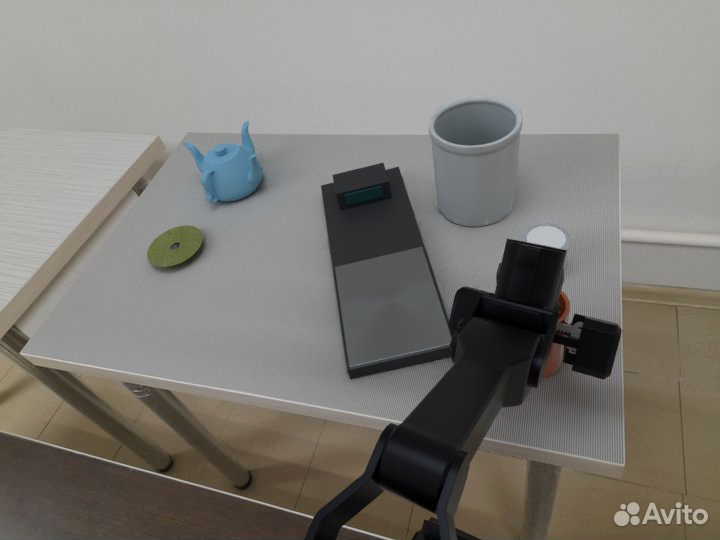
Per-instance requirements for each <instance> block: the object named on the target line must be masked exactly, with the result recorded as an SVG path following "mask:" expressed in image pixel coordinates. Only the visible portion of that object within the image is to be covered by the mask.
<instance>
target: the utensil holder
mask: <svg viewBox="0 0 720 540" xmlns="http://www.w3.org/2000/svg"><path fill="white" fill-rule="evenodd" d="M523 122H524V121H523V113H522V111H521V109H520V108H519V106H518V105H517V104H515V103H514V102H513V101H511V100H509V99H507V98H504V97H500V96H496V95H488V94H474V95H468V96H462V97H459V98H454V99H452V100H449V101H447V102H445V103H444V104H442V105H441V106H439V107H438V108H437V109H435V111H434V112H433V113H432V114H431V116H430V118H429V120H428V133H429V137H430V139H431V142H430V143H431V151H432V162H433V173H434V181H435V182H434V183H435V190H436V196H437V197H436V198H437V203H438V204H437V205H438V208H439V211H440V213H441V214H442V216H443V217H444V218H446V219H447V220H448V221H450V222H452V223H454V224H456V225H459V226H463V227H470V228H471V227H472V228H473V227H474V228H476V227H485V226H490V225H493V224H496V223H498V222H499V221H502V220H503V219H504V218H506V217H507V216H508V215H509V214H510V213H511V211H512V210H513V208H514V205H515V198H516V189H517V188H516V187H517V179H518V165H519V152H520V140H521V131H522V128H523Z"/></svg>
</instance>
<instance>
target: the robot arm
mask: <svg viewBox="0 0 720 540" xmlns="http://www.w3.org/2000/svg"><path fill="white" fill-rule="evenodd" d="M566 253H567V254H568V252H567V250H564V249H559V248H555V247H550V246H545V245H540V244H535V243H530V242H524V241H522V240H519V239H512V238H506V241H505V245H504V250H503V254H502V259H501V262H499V264H498V267H497V271H496V274H495V275H496V277H495V279H496V282H495V283H496V285H495V290H494V292H490V291H486V290H483V289H479V288H475V287H470V286H467V285H465V286H461V287H460V288H458V289H457V290H456V292H455V294H454V297H453V301H452V306H451V311H450V315H449V318H448V319H449V324H448V329H449V331H450V334H451V335H452V336H453V337H452V339H451V342H450V349H451V351H452V357H451V362H452V363H453V365H451V367H450V368H449V369H448V370H447V371H446V373H444V375H442V377H441V378H440V379H439V380H438V381H437V383H436V384H435V385H433V387H432V388H431V389H430V391H429V392H427V394H426V395H425V396H424V397H423V398H422V399H421V401H420V402H419V403H418V404H417V405H416V406H415V407H414V408H413V409H412V411H411V412H410V413H409V414H408V415H407V416H406V417H405V418H404V419H403V421H402V422H401V423H400V424H398V425H397V424H395V423H392V422H390V423H389V424H387V425H386V426H385V428H383V430H382V432H381V433H380V435H379V437H378V439H377V441H376V442H375V445H374V448H373V450H372V453H371V455H370V458H369V460H368V463H367V465H366V467H365V470H364V472H363V473H362V474H361V475H360V476H359V477H357V478H356V479H355V480H353V482H352V483H350V484H349V485H348V486H346V487H345V488H344V489H343V490H342V491H340V492H339V493H338V494H336V496H335V497H333V498H332V499H331V500H329V502H327V503H326V504H325V505H323V506H322V507H320V509H318V511H317V512H316V513H315V514H314V516H313V517H312V520H311V523H310V524H309V526H308V529H307V530H306V531H307V532H306V534H305V536H304V538H303V540H337V538H338V536H339V533H340V531H341V528H343V526H345V525H346V524H347V523H348V522H350V521H351V520H353V518H354V517H355V516H357V515H358V514H359V513H360V512H361V511H363V510H364V509H366V507H367V506H369V505H370V504H371V503H373V501H375V500H376V499H377V498H379V497H380V496H381V495H382V494H383V493H384V492H385V493H388V494H390V495H393V496H396V497H397V498H400V499H401V500H404V501H406V502H407V503H411V504H413V505H415V506H417V507H419V508H422V509H424V510H426V511H428V512H430V513H432V514H434V515H436V518H435V517H433V516H430V517H429V518H428V520H427V519H423V522H422V527H421V529H419V530H417V531H415V533H414V535H413V536H412V538H411V539H410V540H482V539H481V538H479V537H477V536H475V535H472V534H471V533H468V532H466V531H464V530H462V529H459V528H457V527H456V524H455V516H456V513H457V511H458V507H459V504H460V501H461V498H462V495H463V493H464V489H465V487H466V483H467V479H468V475H469V472H470V467H471V462H472V461H473V459H474V457H475V455H476V454H477V452H478V450H479V449H480V447H481V445H482V443H483V441H484V440H485V438H486V435H487V434H488V432H489V430H490V428H491V427H492V425H493V423H494V422H495V420H496V418H497V416H498V414H499V413H500V411H501V410H502V409H503V408H504V409H505V408H511V407H520V406H521V405H522V404H523V403H524V402H525V400H526V399H527V397H528V395H529V394H530V391H531V388H533V389H535V390H538V389H539V388H540V385H541V383H542V379H543V378H542V376H543V373H544V369H545V366H546V363H547V359H548V356H549V352H550V349H551V346H552V342H553V343H557V344H560V345H564V349H563V355H562V363H563V364H566V365H570V366H571V371H572V372H575V373H579V374H582V375H586V376H590V377H592V378H596V379H600V380H606V379H608V378H609V377H611V375H612V371H613V367H614V363H615V361H616V360H615V359H616V355H617V351H618V348H619V344H620V341H621V337H622V333H623V329H622V328H621V326H620V325H619V324H618V323H617V322H613V321H608V320H604V319H601V318H596V317H592V316H587V315H582V314H579V313H574V315H573V317H572V320H571V322H570V323H568V325H567V324H563V323H559V322H558V320H559V316H560V311H559V307H560V303H559V301H558V300H559V296H560V292H561V290H562V288H563V285H564V282H565V270H564V269H565V268H564V266H565V262H566V259H565V258H567V255H566ZM558 329H559V330H560V332H561V331H562V330H563V333H565V332H566V335H565V334H561V333H557V332H556V331H558Z"/></svg>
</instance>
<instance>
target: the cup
mask: <svg viewBox="0 0 720 540" xmlns="http://www.w3.org/2000/svg"><path fill="white" fill-rule="evenodd" d="M558 301H559V303H560V307H559V311H560V316H559V320H558V322H559V323H563V324H567V325H568V324H569V319H570V312H571V302H570V301H571V300H569V298H568V296H567V294H566V293H565V292H564V291H563V290H562V289H561V292H560V296H559V300H558ZM556 332H557V333H561V334H565V335H566V332H565V333H563V330H562V331H561V332H560V330H559V329H558V331H556ZM563 352H564V345H560V344H557V343H553V342H552V346H551V349H550V352H549V356H548V359H547V363H546V366H545V369H544V373H543V376H542V379H546V378H548V377H551V376H552V375H554V374H555V373H556V372H557V371H558V370H559V368H560V366H561V363H562V361H563Z"/></svg>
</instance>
